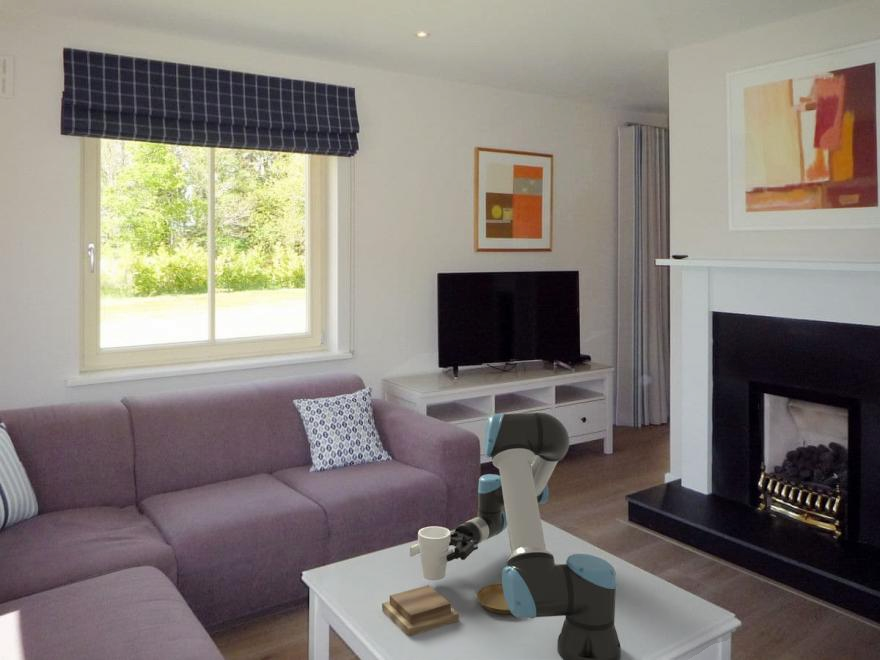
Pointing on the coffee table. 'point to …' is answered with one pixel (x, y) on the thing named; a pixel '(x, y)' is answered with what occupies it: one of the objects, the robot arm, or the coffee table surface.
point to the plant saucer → (493, 598)
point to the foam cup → (433, 550)
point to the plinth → (421, 624)
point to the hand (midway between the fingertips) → (424, 556)
